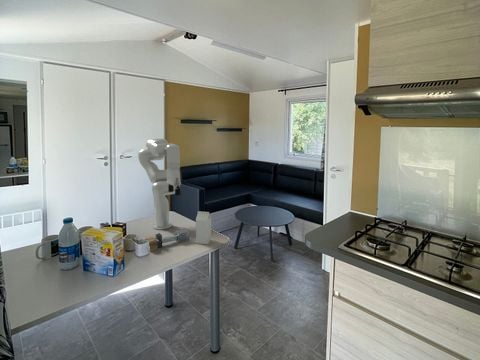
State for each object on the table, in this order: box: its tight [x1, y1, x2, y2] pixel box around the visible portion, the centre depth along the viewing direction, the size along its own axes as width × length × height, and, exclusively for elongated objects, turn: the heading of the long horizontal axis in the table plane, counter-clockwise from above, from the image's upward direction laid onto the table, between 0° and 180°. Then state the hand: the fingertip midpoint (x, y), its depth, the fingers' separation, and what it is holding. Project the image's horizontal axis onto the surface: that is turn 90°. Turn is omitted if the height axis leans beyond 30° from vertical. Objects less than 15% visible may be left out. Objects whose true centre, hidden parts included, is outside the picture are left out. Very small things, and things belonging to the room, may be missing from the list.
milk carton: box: [195, 210, 212, 245], centre depth 166 cm, size 7×7×19 cm
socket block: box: [144, 235, 158, 252], centre depth 157 cm, size 7×4×6 cm, turn 37°
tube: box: [154, 232, 178, 248], centre depth 162 cm, size 4×17×7 cm, turn 127°
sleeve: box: [174, 228, 190, 244], centre depth 168 cm, size 5×7×6 cm
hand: (174, 193), depth 168 cm, fingers open, 9 cm apart
